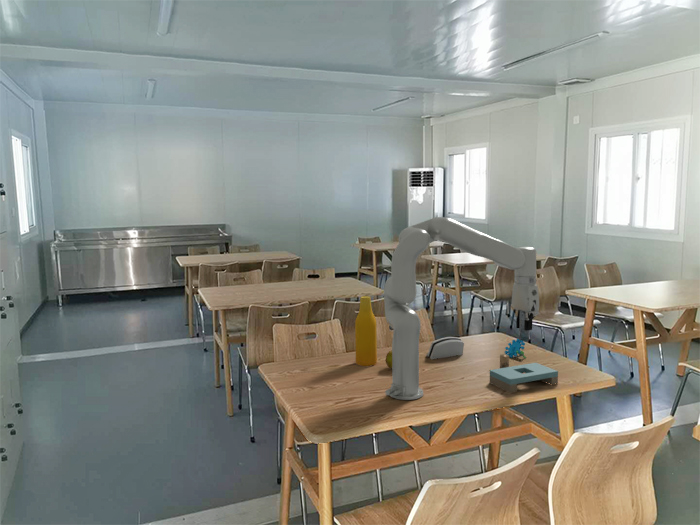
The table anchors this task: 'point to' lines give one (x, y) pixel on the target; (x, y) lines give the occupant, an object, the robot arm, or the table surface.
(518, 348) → the gear
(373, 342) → the beer bottle
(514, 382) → the hole bridge
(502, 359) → the short pin
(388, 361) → the fruit
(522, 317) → the tall pin
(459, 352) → the napkin holder
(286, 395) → the table surface
